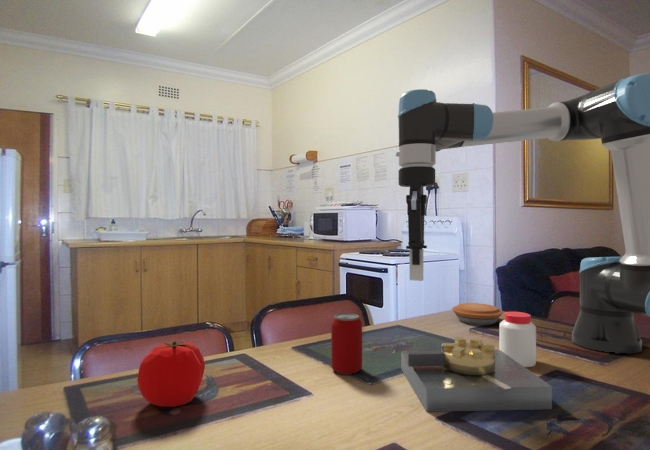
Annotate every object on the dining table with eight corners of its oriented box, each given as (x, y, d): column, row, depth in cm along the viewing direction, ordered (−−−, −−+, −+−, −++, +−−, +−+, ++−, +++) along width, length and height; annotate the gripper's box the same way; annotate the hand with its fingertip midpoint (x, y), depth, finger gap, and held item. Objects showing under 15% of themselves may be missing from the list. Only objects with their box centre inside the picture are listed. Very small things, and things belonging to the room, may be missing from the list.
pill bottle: (540, 368, 92) (540, 318, 92) (503, 366, 94) (503, 317, 93) (530, 356, 100) (530, 311, 99) (496, 354, 101) (496, 309, 101)
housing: (499, 367, 92) (499, 349, 92) (554, 411, 72) (554, 387, 71) (401, 369, 92) (401, 350, 91) (427, 413, 71) (427, 389, 71)
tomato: (165, 423, 68) (164, 355, 68) (123, 406, 74) (123, 344, 74) (219, 396, 78) (219, 337, 78) (179, 383, 84) (178, 328, 84)
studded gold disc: (482, 356, 87) (482, 336, 87) (504, 374, 77) (504, 351, 77) (401, 357, 86) (401, 337, 86) (413, 375, 76) (413, 353, 76)
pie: (455, 326, 128) (455, 310, 128) (449, 314, 144) (449, 300, 144) (508, 328, 126) (508, 311, 126) (496, 316, 141) (496, 301, 141)
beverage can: (366, 367, 93) (366, 314, 93) (355, 378, 87) (355, 320, 86) (338, 363, 96) (338, 311, 95) (326, 373, 89) (326, 317, 89)
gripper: (402, 171, 94) (402, 275, 95) (394, 164, 82) (393, 283, 82) (437, 170, 92) (436, 276, 92) (433, 162, 79) (433, 285, 80)
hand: (416, 279), depth 87 cm, fingers closed
